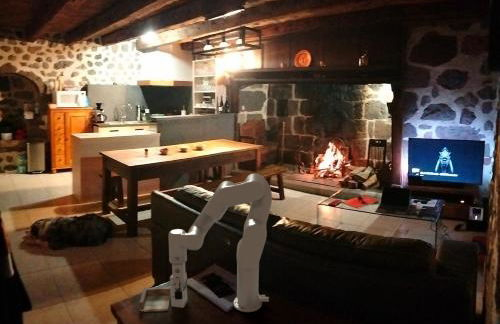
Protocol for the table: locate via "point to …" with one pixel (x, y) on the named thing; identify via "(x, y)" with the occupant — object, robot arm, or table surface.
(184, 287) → the syrup box
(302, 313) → the table surface
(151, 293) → the board
